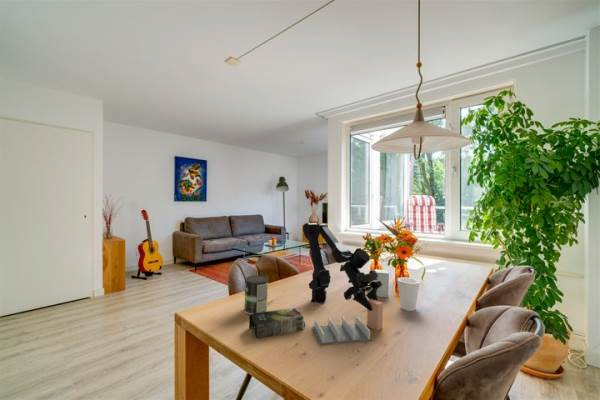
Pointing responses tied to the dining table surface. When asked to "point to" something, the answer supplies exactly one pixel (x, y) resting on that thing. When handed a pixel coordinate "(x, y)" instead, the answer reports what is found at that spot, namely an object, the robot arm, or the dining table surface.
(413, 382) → the dining table surface
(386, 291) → the supplement box
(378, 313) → the salmon rectangular block
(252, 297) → the coffee can
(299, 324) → the juice carton
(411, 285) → the foam cup
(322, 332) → the rack
